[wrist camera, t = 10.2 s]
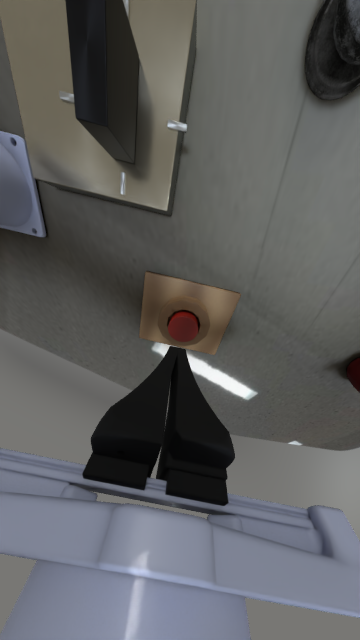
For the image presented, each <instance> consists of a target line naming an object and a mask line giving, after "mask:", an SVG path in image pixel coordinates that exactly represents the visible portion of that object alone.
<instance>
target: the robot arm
mask: <svg viewBox="0 0 360 640" xmlns="http://www.w3.org/2000/svg"><path fill="white" fill-rule="evenodd" d="M15 141H16V144H15ZM0 228H4V229H9V230H13V231H17V232H21V233H25V234H29V235H34V236H38V237H46V231H45V226H44V221H43V216H42V211H41V206H40V201H39V196H38V191H37V187H36V182H35V178H34V177H33V173H32V168H31V164H30V159H29V154H28V149H27V144H26V141H25V140H24V139H23V138H21V137H20V136H18V135H14V134H10V133H6V132H2V131H0ZM36 231H37V233H36ZM170 381H171V385H170ZM169 388H170V397H169V407H168V413H167V419H166V411H167V403H168V396H169ZM165 420H166V425H165ZM164 430H165V431H164ZM91 445H92V450H93V453H92V455H91V457H90V459H89V461H88V463H87V465H83V464H78V463H73V462H68V461H63V460H58V459H53V458H48V457H43V456H38V455H33V454H28V453H23V452H18V451H13V450H8V449H3V448H0V554H5V555H11V556H17V557H22V558H27V559H33V560H37V561H36V563H35V565H34V567H33V569H32V571H31V573H30V575H29V577H28V579H27V581H26V583H25V585H24V587H23V589H22V591H21V594H20V595H19V597H18V599H17V601H16V604H15V606H14V608H13V610H12V612H11V614H10V616H9V618H8V620H7V622H6V624H5V626H4V628H3V630H2V632H1V634H0V640H251V638H250V631H249V623H248V618H247V610H246V603H245V598H251V599H257V600H262V601H268V602H274V603H279V604H285V605H290V606H296V607H302V608H307V609H313V610H319V611H324V612H330V613H335V614H341V615H347V616H353V617H358V618H360V541H359V539H358V538H357V536H356V534H355V532H354V531H353V529H352V527H351V525H350V523H349V522H348V520H347V518H346V516H345V515H344V513H343V511H341V510H340V509H336V508H331V507H326V506H320V505H317V506H316V505H315V506H311V507H309V508H308V509H304V508H299V507H294V506H289V505H284V504H279V503H274V502H268V501H264V500H258V499H253V498H249V497H244V496H239V495H234V494H229V493H227V487H226V479H227V471H226V468H227V467H228V466H229V465H230V464H231V463H232V462H233V460H234V458H235V453H234V449H233V444H232V441H231V437H230V434H229V432H228V430H227V429H226V428H225V427H224V425H223V424H222V423H221V422H220V420H219V419H218V418H217V416H216V415H215V413H214V412H213V410H212V409H211V407H210V406H209V404H208V403H207V401H206V400H205V398H204V396H203V394H202V393H201V391H200V389H199V387H198V385H197V383H196V381H195V378H194V376H193V373H192V371H191V368H190V365H189V362H188V358H187V354H186V350H185V349H182V348H177V347H173V346H170V347H169V349H168V352H167V353H166V355H165V357H164V358H163V360H162V361H161V362H160V364H159V365H158V366H157V367H156V369H155V370H154V371H153V372H152V373H151V374H150V375H149V376H148V377H147V378H146V379H145V380H144V381H143V382H142V383H141V384H140V385H139V386H138V387H137V388H135V389H134V390H133V391H132V392H131V393H129V394H128V395H127V396H126V397H124V398H123V399H121V400H120V401H118V402H117V403H116V404H115V405H113V406H111V407H110V409H109V410H108V411H107V412H106V414H105V415H104V416H103V418H102V419H101V421H100V422H99V424H98V425H97V427H96V429H95V431H94V433H93V435H92V437H91ZM161 446H162V448H161ZM160 449H161V454H160V459H159V464H158V470H157V475H156V479H153V478H150V477H151V474H152V471H153V468H154V466H155V464H156V461H157V458H158V455H159V452H160ZM91 491H93V492H99V493H104V494H109V495H114V496H119V497H125V498H129V499H134V500H140V501H145V502H150V503H155V504H160V505H165V506H170V507H176V508H181V509H186V510H191V511H196V512H201V513H207V514H211V515H208V517H207V519H205V518H202V517H198V516H194V515H189V514H184V513H179V512H174V511H168V510H163V509H158V508H153V507H148V506H143V505H136V504H119V503H109V502H99V501H96V499H97V494H96V493H93V492H91Z"/></svg>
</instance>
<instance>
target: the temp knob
mask: <svg viewBox="0 0 360 640" xmlns="http://www.w3.org/2000/svg"><path fill="white" fill-rule="evenodd" d="M65 2H66V13H67V25H68V36H69V48H70V59H71V71H72V82H73V94H74V105H75V116H76V119H77V120H78V121H79V122H80V123H81V124H82V125H83V127H84V128H85V129H86V130H87V131H88V132H89V133H90V134H91V135H92V136H93V137H94V138H95V140H96V141H97V142H98V143H99V144H100V145H101V146H102V147H103V148H104V149H105V150H106V151H107V152H108V154H109V155H110V156H111V157H112V158H115V159H119V160H123V161H126V162H130V163H134V157H135V135H136V112H137V90H138V67H139V54H138V50H137V47H136V44H135V40H134V37H133V33H132V30H131V26H130V23H129V19H128V16H127V12H126V9H125V6H124V2H123V0H65Z"/></svg>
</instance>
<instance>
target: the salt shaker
mask: <svg viewBox="0 0 360 640" xmlns="http://www.w3.org/2000/svg"><path fill="white" fill-rule="evenodd" d="M306 76H307V80H308V84H309V86H310V88H311V89H312V91H313V93H314V94H315V95H317V96H318V97H320V98H321V99H326V100H333V99H337V98H341V97H343V96H345V95H347V94H348V93H350V92H352V91H353V90H354V89H356V88H357V87H358V86H359V85H360V0H324V2H323V4H322V6H321V8H320V10H319V12H318V14H317V16H316V19H315V21H314V24H313V27H312V30H311V33H310V37H309V40H308V46H307V52H306Z"/></svg>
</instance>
